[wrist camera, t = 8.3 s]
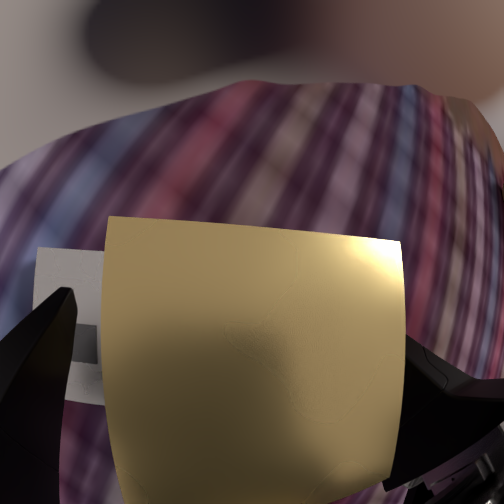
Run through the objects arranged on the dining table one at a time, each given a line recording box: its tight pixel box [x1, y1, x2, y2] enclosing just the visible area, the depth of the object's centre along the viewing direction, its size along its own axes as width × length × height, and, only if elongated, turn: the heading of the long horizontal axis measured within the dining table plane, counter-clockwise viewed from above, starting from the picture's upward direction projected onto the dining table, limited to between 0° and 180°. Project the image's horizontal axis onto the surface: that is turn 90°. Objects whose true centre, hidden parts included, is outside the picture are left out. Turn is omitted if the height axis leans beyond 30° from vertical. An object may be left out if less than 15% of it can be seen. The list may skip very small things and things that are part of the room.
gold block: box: [101, 216, 405, 504], centre depth 9 cm, size 5×5×13 cm
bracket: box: [33, 247, 105, 406], centre depth 14 cm, size 8×18×2 cm, turn 91°
